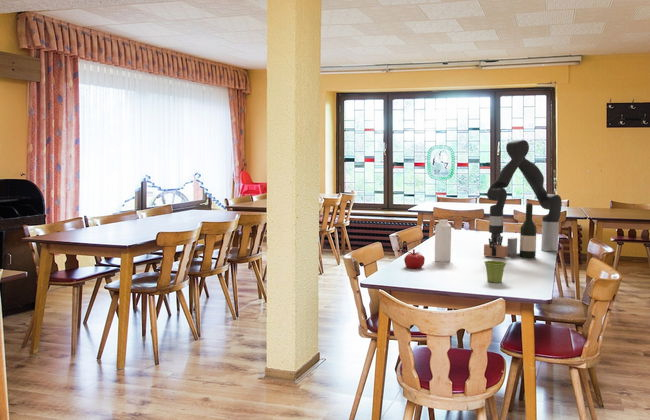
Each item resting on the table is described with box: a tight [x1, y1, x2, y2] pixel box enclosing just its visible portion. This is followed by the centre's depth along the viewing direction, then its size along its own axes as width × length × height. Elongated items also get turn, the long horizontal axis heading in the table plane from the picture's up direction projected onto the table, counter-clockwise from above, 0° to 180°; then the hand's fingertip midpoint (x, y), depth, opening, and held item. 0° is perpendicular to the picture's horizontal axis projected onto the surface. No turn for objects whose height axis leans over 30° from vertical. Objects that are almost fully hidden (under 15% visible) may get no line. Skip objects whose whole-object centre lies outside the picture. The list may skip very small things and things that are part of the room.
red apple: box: [403, 248, 425, 269], centre depth 314 cm, size 10×10×9 cm
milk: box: [434, 218, 452, 263], centre depth 334 cm, size 6×6×22 cm
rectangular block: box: [483, 243, 507, 259], centre depth 348 cm, size 4×12×6 cm, turn 51°
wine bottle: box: [519, 202, 537, 260], centre depth 346 cm, size 8×8×30 cm
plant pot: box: [484, 260, 507, 284], centre depth 282 cm, size 9×9×9 cm
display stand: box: [506, 237, 520, 258], centre depth 355 cm, size 7×16×10 cm, turn 51°
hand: (495, 255), depth 348 cm, fingers closed on rectangular block, 3 cm apart
